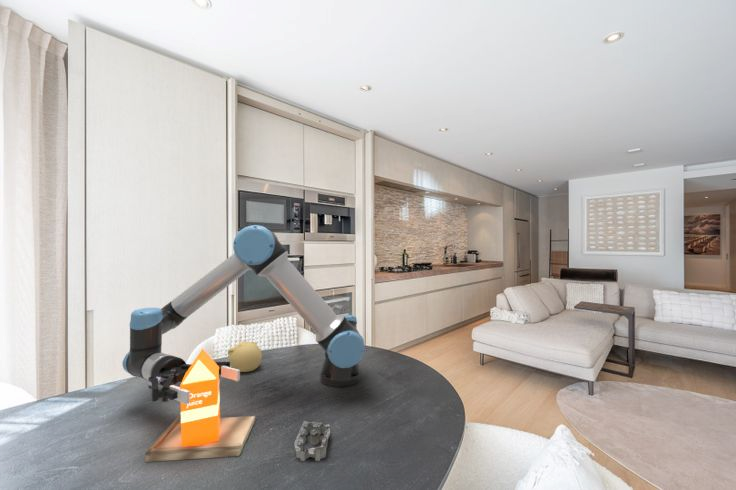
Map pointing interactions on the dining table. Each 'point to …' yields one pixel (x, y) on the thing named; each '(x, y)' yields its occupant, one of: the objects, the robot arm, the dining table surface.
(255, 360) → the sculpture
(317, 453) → the egg carton
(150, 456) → the serving board
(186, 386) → the orange juice
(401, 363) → the dining table surface
